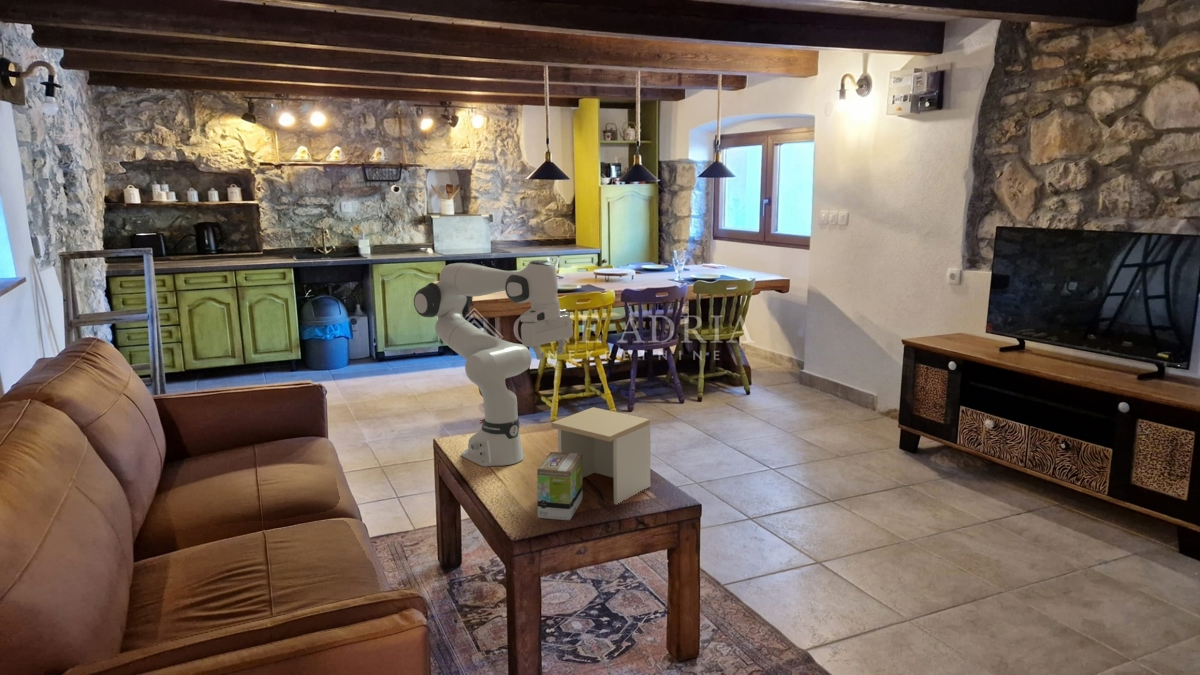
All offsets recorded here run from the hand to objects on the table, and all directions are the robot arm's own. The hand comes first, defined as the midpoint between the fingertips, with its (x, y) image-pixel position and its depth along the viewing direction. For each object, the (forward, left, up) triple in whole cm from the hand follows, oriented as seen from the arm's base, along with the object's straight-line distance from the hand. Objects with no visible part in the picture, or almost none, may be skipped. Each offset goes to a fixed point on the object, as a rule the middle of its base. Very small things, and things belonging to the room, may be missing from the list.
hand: (550, 356), depth 238 cm
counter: (+20, 0, -39) cm, 44 cm away
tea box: (+20, -19, -39) cm, 48 cm away
